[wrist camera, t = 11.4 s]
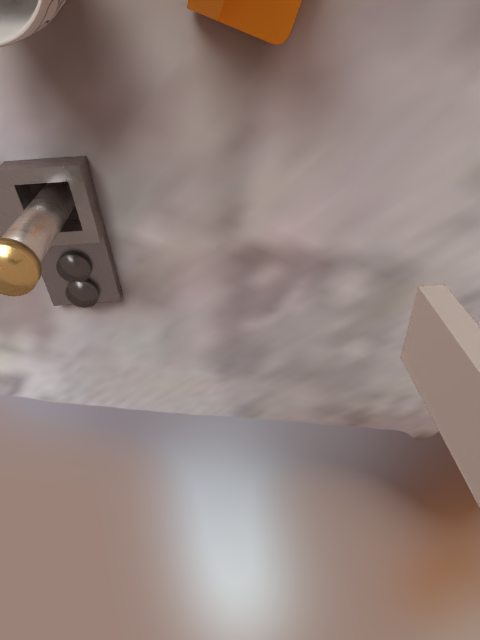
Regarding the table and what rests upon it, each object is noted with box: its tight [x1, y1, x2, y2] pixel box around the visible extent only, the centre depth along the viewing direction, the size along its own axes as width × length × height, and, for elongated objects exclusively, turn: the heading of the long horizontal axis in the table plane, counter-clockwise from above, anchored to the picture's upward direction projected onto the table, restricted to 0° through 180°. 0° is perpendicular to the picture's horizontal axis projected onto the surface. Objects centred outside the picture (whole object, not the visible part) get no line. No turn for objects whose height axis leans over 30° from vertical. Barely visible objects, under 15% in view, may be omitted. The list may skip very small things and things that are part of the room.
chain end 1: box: [0, 161, 103, 246], centre depth 37 cm, size 15×7×2 cm, turn 93°
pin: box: [0, 182, 75, 296], centre depth 34 cm, size 4×4×13 cm
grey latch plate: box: [0, 156, 122, 307], centre depth 40 cm, size 15×7×2 cm, turn 3°
